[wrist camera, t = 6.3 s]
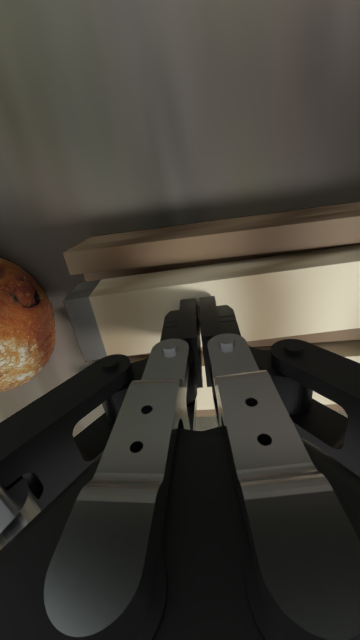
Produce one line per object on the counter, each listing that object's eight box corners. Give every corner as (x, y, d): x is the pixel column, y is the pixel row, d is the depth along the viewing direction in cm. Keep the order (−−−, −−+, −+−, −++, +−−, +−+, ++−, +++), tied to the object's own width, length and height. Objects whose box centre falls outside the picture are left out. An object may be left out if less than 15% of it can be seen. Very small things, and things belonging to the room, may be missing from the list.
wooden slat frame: (478, 186, 15) (592, 192, 10) (419, 365, 20) (478, 418, 16) (90, 236, 18) (53, 258, 13) (131, 382, 23) (114, 430, 19)
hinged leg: (465, 230, 14) (518, 239, 12) (444, 293, 15) (488, 312, 13) (79, 282, 15) (63, 300, 13) (96, 336, 16) (84, 361, 14)
